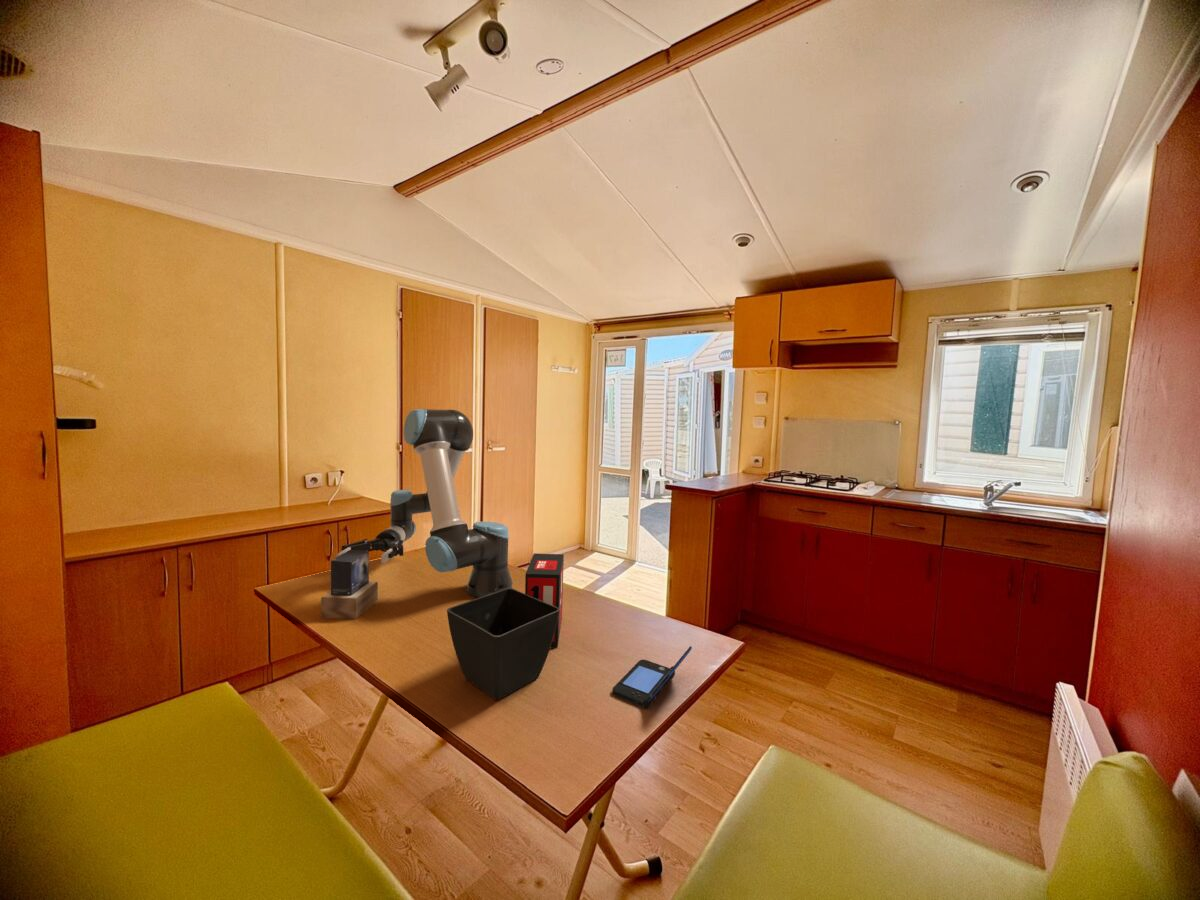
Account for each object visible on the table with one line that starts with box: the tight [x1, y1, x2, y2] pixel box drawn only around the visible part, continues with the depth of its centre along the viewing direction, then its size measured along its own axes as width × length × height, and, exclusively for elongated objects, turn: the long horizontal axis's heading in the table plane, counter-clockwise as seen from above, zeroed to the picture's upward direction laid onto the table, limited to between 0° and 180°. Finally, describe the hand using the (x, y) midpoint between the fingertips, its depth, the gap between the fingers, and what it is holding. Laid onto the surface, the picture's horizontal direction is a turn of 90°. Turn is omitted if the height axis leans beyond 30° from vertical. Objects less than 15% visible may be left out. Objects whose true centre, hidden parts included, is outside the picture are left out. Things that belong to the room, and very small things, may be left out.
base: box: [320, 580, 379, 620], centre depth 138 cm, size 10×13×6 cm
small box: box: [330, 550, 370, 596], centre depth 137 cm, size 11×6×10 cm, turn 0°
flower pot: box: [446, 587, 560, 700], centre depth 106 cm, size 19×19×17 cm
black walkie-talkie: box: [612, 646, 693, 710], centre depth 105 cm, size 16×13×9 cm
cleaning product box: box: [524, 552, 565, 649], centre depth 128 cm, size 16×9×20 cm, turn 1°
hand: (360, 558), depth 143 cm, fingers open, 13 cm apart
